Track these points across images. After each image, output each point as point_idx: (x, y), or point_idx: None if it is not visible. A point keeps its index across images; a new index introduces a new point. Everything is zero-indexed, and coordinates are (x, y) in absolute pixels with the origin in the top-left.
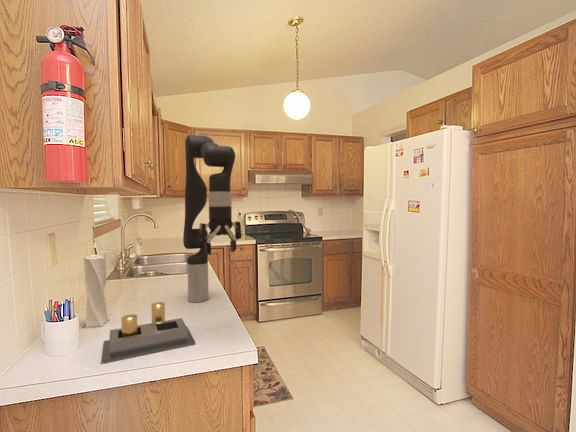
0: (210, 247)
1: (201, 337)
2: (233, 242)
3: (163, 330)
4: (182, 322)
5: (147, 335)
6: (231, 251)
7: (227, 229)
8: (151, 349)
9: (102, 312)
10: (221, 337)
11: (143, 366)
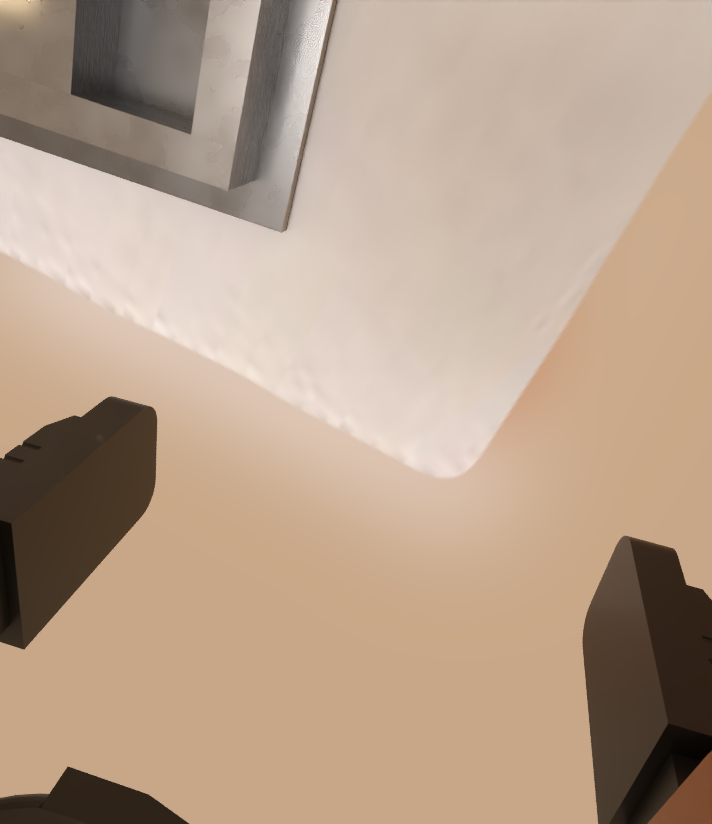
0: (70, 582)
1: (354, 167)
2: (613, 815)
3: (102, 109)
4: (240, 57)
5: (13, 117)
6: (608, 565)
7: None
8: (74, 144)
9: None
10: (439, 260)
11: (35, 261)
